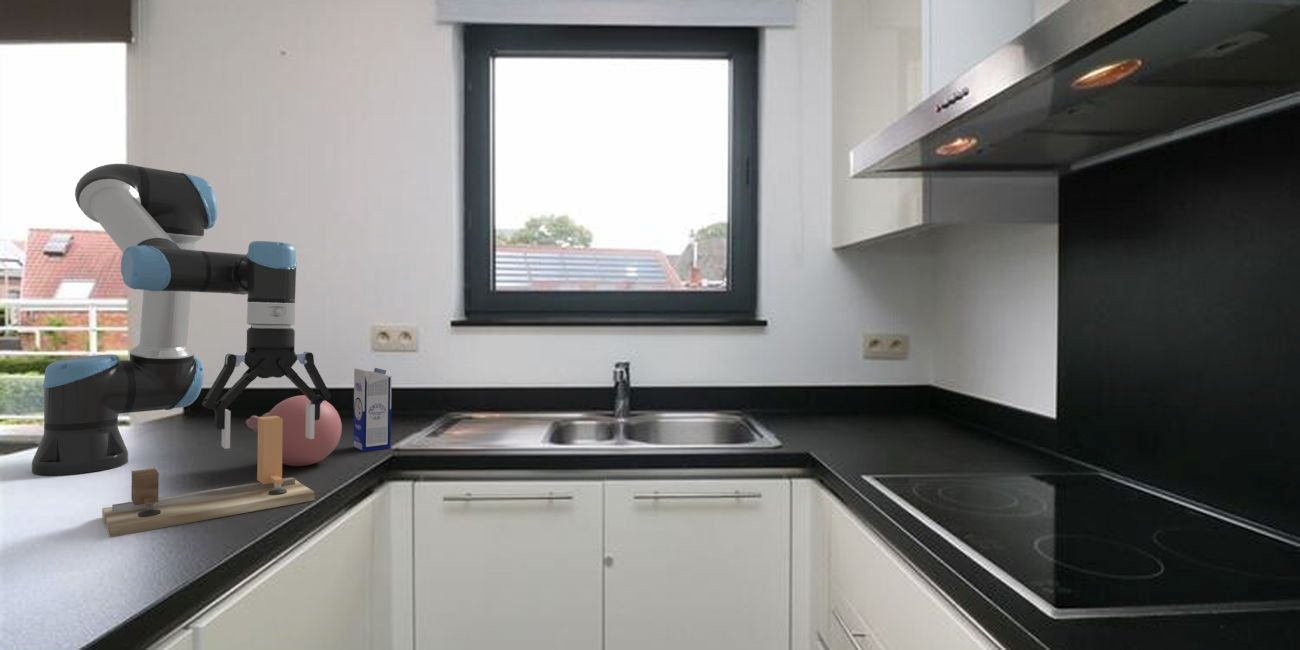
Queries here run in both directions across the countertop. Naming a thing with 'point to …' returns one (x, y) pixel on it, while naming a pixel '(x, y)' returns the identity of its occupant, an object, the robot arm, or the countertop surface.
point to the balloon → (293, 436)
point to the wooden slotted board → (194, 503)
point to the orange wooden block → (270, 450)
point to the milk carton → (372, 410)
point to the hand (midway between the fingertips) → (269, 442)
